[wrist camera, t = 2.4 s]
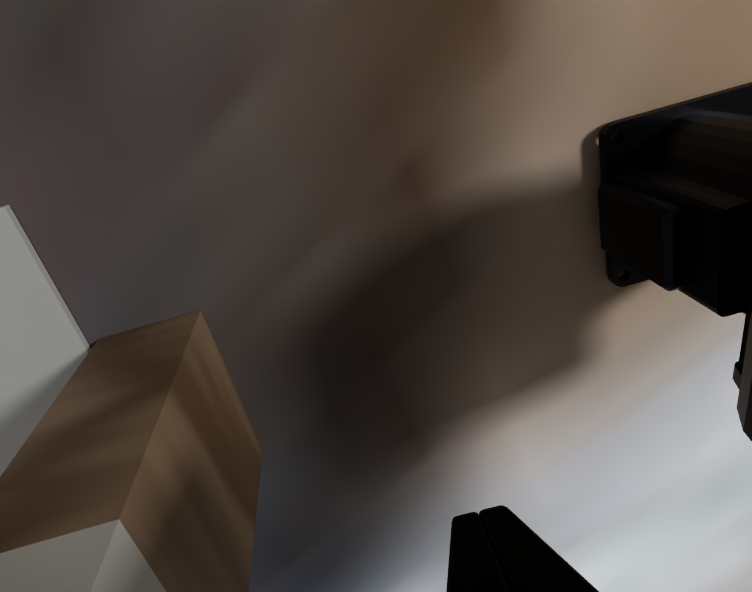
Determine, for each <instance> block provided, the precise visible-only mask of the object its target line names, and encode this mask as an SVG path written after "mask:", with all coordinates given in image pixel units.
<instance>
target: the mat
mask: <svg viewBox="0 0 752 592" xmlns="http://www.w3.org/2000/svg"><path fill="white" fill-rule="evenodd" d="M90 350H91V348H90V346H89V344H88V343H87V341H86V339H85V337H84V336H83V334H82V332H81V330H80V329H79V327H78V325H77V323H76V322H75V320H74V318H73V316H72V315H71V313H70V311H69V309H68V308H67V306H66V304H65V302H64V301H63V299H62V297H61V295H60V294H59V292H58V290H57V288H56V286H55V285H54V283H53V281H52V279H51V278H50V276H49V274H48V272H47V271H46V269H45V267H44V265H43V264H42V262H41V260H40V258H39V257H38V255H37V253H36V251H35V250H34V248H33V246H32V244H31V243H30V241H29V239H28V237H27V236H26V234H25V232H24V230H23V229H22V227H21V225H20V223H19V222H18V220H17V218H16V216H15V215H14V213H13V211H12V209H11V208H10V206H9V205H5V206H2V207H0V476H1V475H2V474H3V472H4V471H5V469H6V468H7V467H8V465H9V464H10V462H11V461H12V460H13V458H14V457H15V455H16V454H17V453H18V451H19V450H20V448H21V447H22V445H23V444H24V443H25V441H26V440H27V438H28V437H29V436H30V434H31V433H32V431H33V430H34V429H35V427H36V426H37V424H38V423H39V422H40V420H41V419H42V417H43V416H44V415H45V413H46V412H47V410H48V409H49V408H50V406H51V405H52V403H53V402H54V400H55V399H56V398H57V396H58V395H59V393H60V392H61V391H62V389H63V388H64V386H65V385H66V384H67V382H68V381H69V379H70V378H71V377H72V375H73V374H74V372H75V371H76V370H77V368H78V367H79V365H80V364H81V363H82V361H83V360H84V358H85V357H86V356H87V354H88V353H89V351H90Z"/></svg>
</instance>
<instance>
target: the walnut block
mask: <svg viewBox="0 0 752 592" xmlns="http://www.w3.org/2000/svg"><path fill="white" fill-rule="evenodd" d="M261 458H262V446H261V444H260V442H259V440H258V437H257V435H256V433H255V431H254V428H253V426H252V424H251V422H250V419H249V417H248V415H247V413H246V411H245V408H244V406H243V404H242V402H241V399H240V397H239V395H238V393H237V390H236V388H235V386H234V384H233V381H232V379H231V377H230V375H229V372H228V370H227V368H226V366H225V363H224V361H223V359H222V357H221V355H220V352H219V350H218V348H217V346H216V343H215V341H214V339H213V337H212V334H211V332H210V330H209V328H208V325H207V323H206V321H205V319H204V316H203V314H202V312H201V310H199V311H196V312H192V313H189V314H185V315H182V316H178V317H175V318H171V319H167V320H164V321H160V322H157V323H153V324H150V325H146V326H143V327H139V328H136V329H132V330H129V331H125V332H122V333H118V334H114V335H111V336H107V337H104V338H100V339H98V340H97V341H96V343H95V344H94V346H93V347H92V348H91V350H90V351H89V353H88V354H87V356H86V357H85V358H84V360H83V361H82V363H81V364H80V365H79V367H78V368H77V370H76V371H75V372H74V374H73V375H72V377H71V378H70V379H69V381H68V382H67V384H66V385H65V386H64V388H63V389H62V391H61V392H60V393H59V395H58V396H57V398H56V399H55V400H54V402H53V403H52V405H51V406H50V408H49V409H48V410H47V412H46V413H45V415H44V416H43V417H42V419H41V420H40V422H39V423H38V424H37V426H36V427H35V429H34V430H33V431H32V433H31V434H30V436H29V437H28V438H27V440H26V441H25V443H24V444H23V445H22V447H21V448H20V450H19V451H18V453H17V454H16V455H15V457H14V458H13V460H12V461H11V462H10V464H9V465H8V467H7V468H6V469H5V471H4V472H3V474H2V475H1V476H0V592H249V582H250V571H251V561H252V551H253V540H254V530H255V520H256V509H257V499H258V489H259V478H260V468H261Z"/></svg>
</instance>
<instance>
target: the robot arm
mask: <svg viewBox="0 0 752 592" xmlns="http://www.w3.org/2000/svg"><path fill="white" fill-rule="evenodd" d="M617 130H618V132H619V136H618V139H617V140H616V141H615V142H613V143H612V141H611V137H612V134H613V133H614V132H615V131H617ZM599 151H600V167H601V184H600V186H599V188H598V206H599V221H600V237H601V248H602V249H603V250H605V251H606V266H607V277H608V279H609V280H610V281H611V282H612V283H613V284H615V285H616V286H619V287H625V286H628V285H632V284H635V283H639V282H642V281H646V280H649V279H650V280H651V281H653V282H654V283H656V284H657V285H659V286H661V287H662V288H664V289H665V290H667V291H673V290H676V289H678V290H679V291H681V292H683V293H684V294H686V295H687V296H689V297H691V298H692V299H694V300H696V301H697V302H699V303H700V304H702V305H704V306H705V307H707V308H708V309H710V310H712V311H713V312H715V313H716V314H718V315H720V316H721V317H725V316H730V315H733V314H737V313H744V314H746V317H745V324H744V331H743V337H742V344H741V351H740V358H739V361H738V362H736V363H735V366H734V373H733V380H734V382H735V383H736V385H737V387H738V388H739V397H738V403H737V410H738V414H739V417H740V421H741V425H742V428H743V431H744V432H745V434H746V435H747V436H748V437H749V439H750V440H751V441H752V82H751V83H747V84H743V85H740V86H736V87H733V88H729V89H726V90H722V91H719V92H715V93H711V94H708V95H704V96H701V97H697V98H694V99H690V100H687V101H683V102H679V103H676V104H672V105H669V106H665V107H662V108H658V109H655V110H651V111H647V112H644V113H640V114H637V115H633V116H630V117H626V118H623V119H619V120H615V121H612V122H610V123H608V124H606V125H605V126H604V127H603V128H602V130H601V132H600V134H599ZM622 270H625V272H624V274H623V275H622V276H621V277H618V275H619V273H620V272H621V271H622ZM447 592H599V591H598V590H597V589H596V588H594V587H593V586H592V585H591V584H590V583H589V582H588V581H587V580H586V579H585V578H584V577H582V576H581V575H580V574H579V573H578V572H577V571H576V570H575V569H574V568H573V567H572V566H570V565H569V564H568V563H567V562H566V561H565V560H564V559H563V558H562V557H561V556H560V555H558V554H557V553H556V552H555V551H554V550H553V549H552V548H551V547H550V546H549V545H548V544H546V543H545V542H544V541H543V540H542V539H541V538H540V537H539V536H538V535H537V534H536V533H535V532H533V531H532V530H531V529H530V528H529V527H528V526H527V525H526V524H525V523H524V522H523V521H521V520H520V519H519V518H518V517H517V516H516V515H515V514H514V513H513V512H512V511H511V510H509V509H508V508H507V507H505V506H502V505H501V506H496V507H492V508H488V509H484V510H481V511H480V513H479V514H478V513H476V512H471V513H467V514H463V515H459V516H455V517H454V518H453V520H452V527H451V540H450V553H449V566H448V579H447Z"/></svg>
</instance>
